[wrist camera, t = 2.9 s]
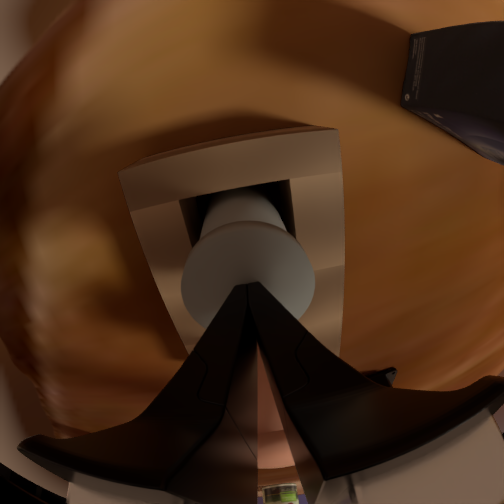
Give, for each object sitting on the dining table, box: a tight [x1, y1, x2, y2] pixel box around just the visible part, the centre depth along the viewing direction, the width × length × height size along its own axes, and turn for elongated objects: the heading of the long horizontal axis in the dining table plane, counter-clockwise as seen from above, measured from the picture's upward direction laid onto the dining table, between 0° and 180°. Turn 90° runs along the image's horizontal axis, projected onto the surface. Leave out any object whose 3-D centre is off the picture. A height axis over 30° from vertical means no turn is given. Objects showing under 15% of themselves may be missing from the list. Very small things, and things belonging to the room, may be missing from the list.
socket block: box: [118, 125, 345, 357], centre depth 17 cm, size 18×10×4 cm, turn 10°
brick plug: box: [257, 343, 295, 468], centre depth 14 cm, size 5×5×8 cm
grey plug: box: [181, 184, 315, 329], centre depth 13 cm, size 5×5×8 cm
